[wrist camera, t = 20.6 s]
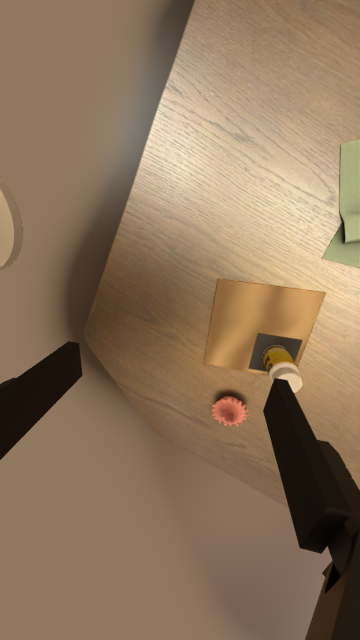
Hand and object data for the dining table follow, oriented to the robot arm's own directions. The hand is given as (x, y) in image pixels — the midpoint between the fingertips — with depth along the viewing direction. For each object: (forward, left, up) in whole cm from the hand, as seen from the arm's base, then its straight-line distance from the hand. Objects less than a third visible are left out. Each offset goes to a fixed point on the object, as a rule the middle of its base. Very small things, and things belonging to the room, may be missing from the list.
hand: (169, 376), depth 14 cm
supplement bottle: (+16, -11, -26) cm, 32 cm away
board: (+12, -7, -27) cm, 30 cm away
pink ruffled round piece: (+10, -25, -27) cm, 38 cm away
